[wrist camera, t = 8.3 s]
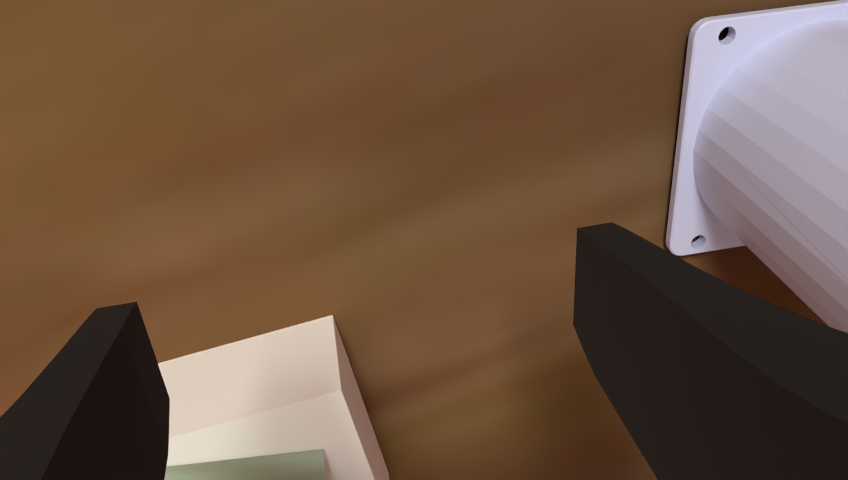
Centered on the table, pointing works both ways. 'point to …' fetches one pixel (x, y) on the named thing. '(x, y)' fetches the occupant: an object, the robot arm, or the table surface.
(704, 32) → the robot arm
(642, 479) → the table surface
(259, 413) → the cream base block
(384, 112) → the table surface
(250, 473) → the green cube
